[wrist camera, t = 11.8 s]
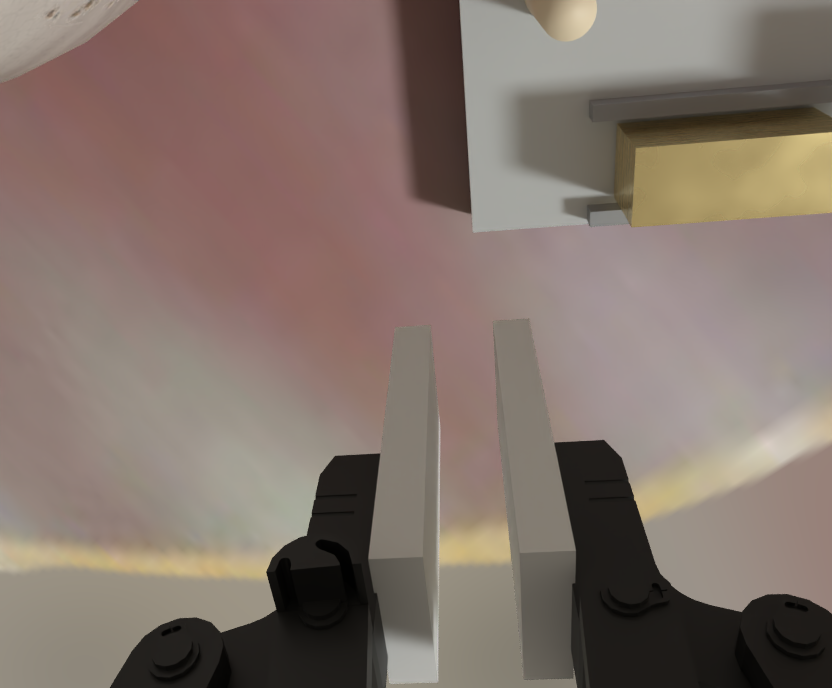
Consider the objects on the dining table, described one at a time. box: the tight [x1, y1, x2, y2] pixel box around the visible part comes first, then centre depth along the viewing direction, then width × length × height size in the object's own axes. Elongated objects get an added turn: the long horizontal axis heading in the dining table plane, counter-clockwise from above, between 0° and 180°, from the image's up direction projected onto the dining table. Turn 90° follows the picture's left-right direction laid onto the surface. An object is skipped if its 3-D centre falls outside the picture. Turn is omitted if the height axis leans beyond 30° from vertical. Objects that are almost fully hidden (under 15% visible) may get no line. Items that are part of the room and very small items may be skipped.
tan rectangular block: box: [614, 107, 832, 227], centre depth 27 cm, size 7×3×3 cm, turn 95°
